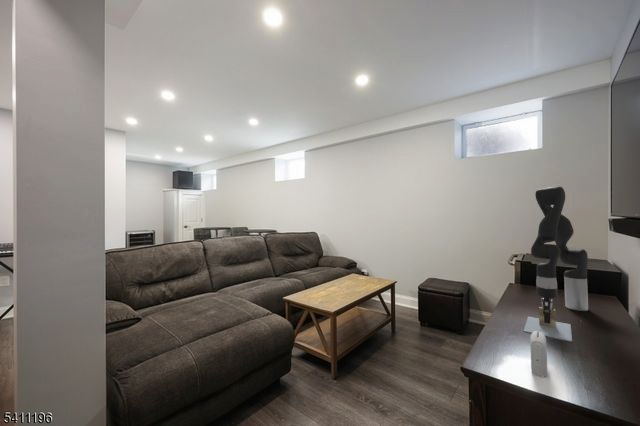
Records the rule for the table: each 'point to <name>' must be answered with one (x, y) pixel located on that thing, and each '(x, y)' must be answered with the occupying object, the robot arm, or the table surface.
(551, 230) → the robot arm
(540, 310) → the tile
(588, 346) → the table surface
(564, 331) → the mat
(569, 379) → the table surface
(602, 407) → the table surface
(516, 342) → the table surface
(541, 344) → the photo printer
